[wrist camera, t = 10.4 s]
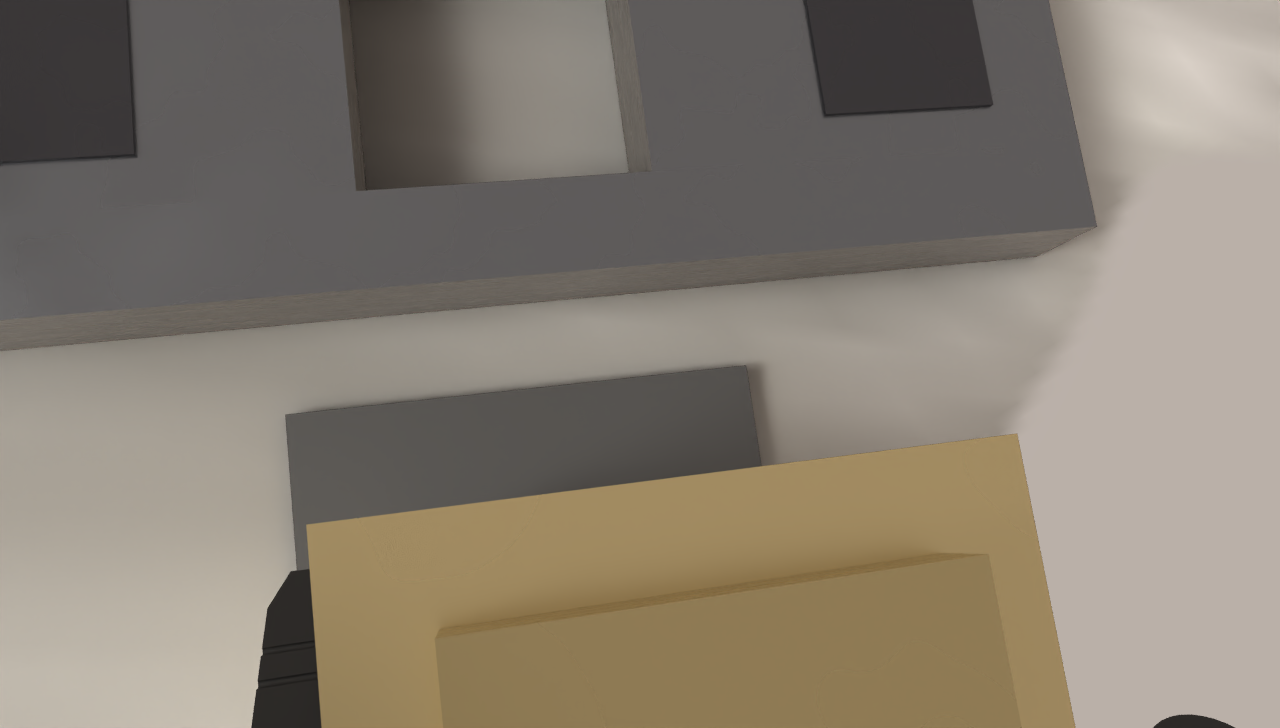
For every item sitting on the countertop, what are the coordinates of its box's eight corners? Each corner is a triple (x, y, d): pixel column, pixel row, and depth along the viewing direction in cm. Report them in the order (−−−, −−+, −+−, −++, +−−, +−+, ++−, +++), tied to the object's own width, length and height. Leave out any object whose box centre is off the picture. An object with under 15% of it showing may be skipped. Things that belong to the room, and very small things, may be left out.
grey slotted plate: (-138, 363, 19) (-229, 338, 16) (-141, -91, 20) (-224, -175, 18) (1036, 257, 24) (1099, 224, 21) (962, -105, 25) (1014, -173, 23)
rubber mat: (327, 922, 19) (323, 930, 18) (288, 416, 20) (285, 415, 20) (810, 824, 20) (816, 830, 20) (741, 368, 22) (746, 365, 22)
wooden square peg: (451, 787, 17) (359, 1558, 4) (427, 535, 18) (285, 522, 5) (693, 743, 18) (1247, 1272, 5) (661, 504, 19) (1070, 424, 6)
